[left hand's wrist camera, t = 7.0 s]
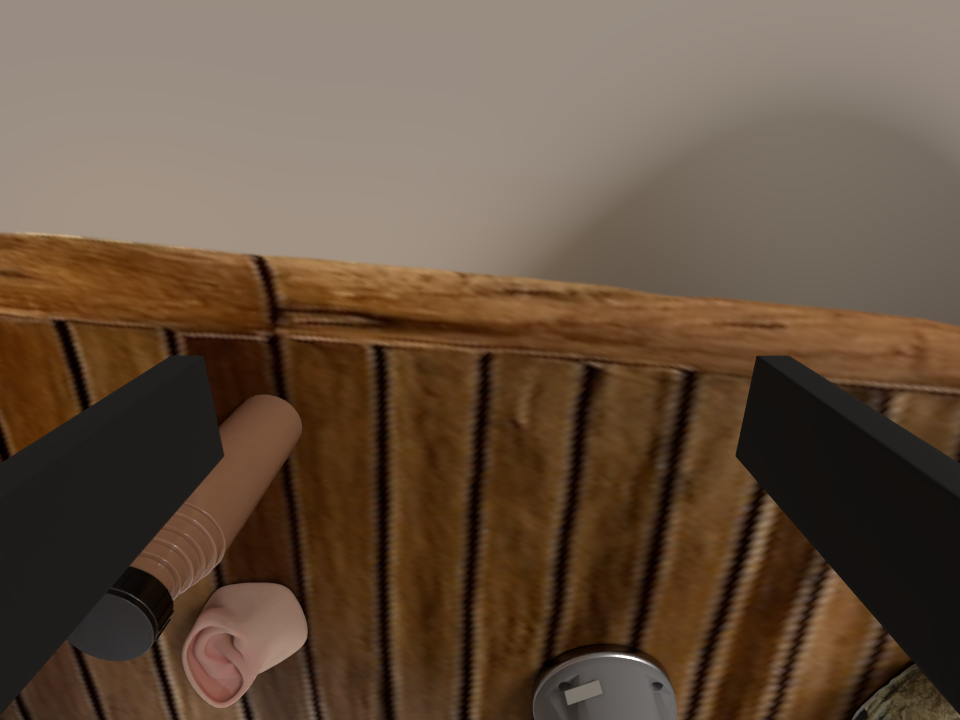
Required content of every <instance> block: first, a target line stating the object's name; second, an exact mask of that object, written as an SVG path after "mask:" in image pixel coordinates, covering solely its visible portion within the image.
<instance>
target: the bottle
mask: <svg viewBox="0 0 960 720" xmlns="http://www.w3.org/2000/svg"><path fill="white" fill-rule="evenodd" d="M219 432H220V437H221V442H222V446H223V451H224V457H223V458H222V460H221V461H220V462H219V463H218V464H217V465H216V467H215V468H214V469H213V470H212V471H211V472H210V473H209V475H208V476H207V477H206V478H205V479H204V480H203V482H202V483H201V484H200V485H199V486H198V487H197V488H196V490H195V491H194V492H193V493H192V494H191V495H190V497H189V498H188V499H187V500H186V501H185V502H184V504H183V505H182V506H181V507H180V508H179V509H178V510H177V512H176V513H175V514H174V515H173V516H172V517H171V519H170V520H169V521H168V522H167V523H166V524H165V525H164V527H163V528H162V529H161V530H160V531H159V532H158V534H157V535H156V536H155V537H154V538H153V539H152V541H151V542H150V543H149V544H148V545H147V546H146V547H145V549H144V550H143V551H142V552H141V553H140V554H139V556H138V557H137V558H136V559H135V560H134V561H133V562H132V564H131V565H130V566H132V567H135V568H138V569H141V570H143V571H146V572H148V573H150V574H151V575H153V576H155V577H156V578H157V579H158V580H160V581H161V582H162V583H163V584H164V585H165V586H166V588H167V589H168V590H169V592H170V594H171V597H172V600H174V599H175V598H176V597H177V596H178V595H179V594H181V593H183V592H184V591H186V590H187V589H188V588H189V587H191V586H193V585H194V584H196V583H197V582H198V581H199V580H200V579H202V578H203V577H205V576H206V575H208V574H209V573H210V572H211V571H212V569H213V568H214V567H215V566H216V565H218V564H219V562H220V561H221V560H222V558H223V557H224V555H225V554H226V552H227V550H228V549H229V547H230V546H231V544H232V543H233V541H234V540H235V538H236V537H237V535H238V534H239V532H240V530H241V529H242V527H243V526H244V524H245V523H246V521H247V520H248V518H249V517H250V515H251V513H252V512H253V510H254V509H255V507H256V506H257V504H258V503H259V501H260V500H261V498H262V496H263V495H264V493H265V492H266V490H267V489H268V487H269V486H270V484H271V483H272V481H273V479H274V478H275V476H276V475H277V473H278V472H279V470H280V469H281V467H282V466H283V464H284V463H285V461H286V459H287V458H288V456H289V455H290V453H291V452H292V450H293V449H294V447H295V446H296V444H297V442H298V441H299V439H300V437H301V434H302V423H301V419H300V416H299V415H298V413H297V411H296V410H295V409H294V408H293V407H292V406H291V405H290V404H289V403H288V402H286V401H285V400H283V399H281V398H279V397H276V396H272V395H256V396H252V397H250V398H248V399H246V400H245V401H244V402H243V403H242V404H241V405H240V406H239V407H238V408H237V409H236V410H235V411H234V412H233V413H232V414H231V415H230V416H229V417H228V418H227V419H226V420H225V421H224V422H223V423H222V424H221V425H220V426H219Z"/></svg>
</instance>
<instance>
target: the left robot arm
mask: <svg viewBox="0 0 960 720" xmlns="http://www.w3.org/2000/svg"><path fill="white" fill-rule="evenodd" d="M223 457H224V451H223V446H222V442H221V437H220V432H219V427H218V423H217V418H216V413H215V409H214V404H213V399H212V394H211V390H210V385H209V380H208V375H207V371H206V366H205V361H204V356H170V357H168V358H167V359H165V360H164V361H162V362H160V363H159V364H157V365H156V366H154V367H152V368H151V369H149V370H148V371H146V372H145V373H143V374H141V375H140V376H138V377H137V378H135V379H133V380H132V381H130V382H129V383H127V384H126V385H124V386H122V387H121V388H119V389H118V390H116V391H114V392H113V393H111V394H110V395H108V396H107V397H105V398H103V399H102V400H100V401H99V402H97V403H95V404H94V405H92V406H91V407H89V408H88V409H86V410H84V411H83V412H81V413H80V414H78V415H76V416H75V417H73V418H72V419H70V420H69V421H67V422H65V423H64V424H62V425H61V426H59V427H57V428H56V429H54V430H53V431H51V432H50V433H48V434H46V435H45V436H43V437H42V438H40V439H38V440H37V441H35V442H34V443H32V444H31V445H29V446H27V447H26V448H24V449H23V450H21V451H19V452H18V453H16V454H15V455H13V456H12V457H10V458H8V459H7V460H5V461H4V462H2V463H0V715H1V714H2V713H3V712H4V710H5V709H6V708H7V707H8V706H9V705H10V704H11V702H12V701H13V700H14V699H15V698H16V697H17V695H18V694H19V693H20V692H21V691H22V690H23V688H24V687H25V686H26V685H27V684H28V683H29V682H30V680H31V679H32V678H33V677H34V676H35V675H36V673H37V672H38V671H39V670H40V669H41V668H42V667H43V665H44V664H45V663H46V662H47V661H48V660H49V658H50V657H51V656H52V655H53V654H54V653H55V651H56V650H57V649H58V648H59V647H60V646H61V645H62V643H63V642H64V641H65V640H66V639H67V638H68V636H69V635H70V634H71V633H72V632H73V631H74V630H75V628H76V627H77V626H78V625H79V624H80V623H81V621H82V620H83V619H84V618H85V617H86V616H87V614H88V613H89V612H90V611H91V610H92V609H93V608H94V606H95V605H96V604H97V603H98V602H99V601H100V599H101V598H102V597H103V596H104V595H105V594H106V593H107V591H108V590H109V589H110V588H111V587H112V586H113V584H114V583H115V582H116V581H117V580H118V579H119V577H120V576H121V575H122V574H123V573H124V572H125V571H126V569H127V568H128V567H129V566H130V565H131V564H132V562H133V561H134V560H135V559H136V558H137V557H138V556H139V554H140V553H141V552H142V551H143V550H144V549H145V547H146V546H147V545H148V544H149V543H150V542H151V541H152V539H153V538H154V537H155V536H156V535H157V534H158V532H159V531H160V530H161V529H162V528H163V527H164V525H165V524H166V523H167V522H168V521H169V520H170V519H171V517H172V516H173V515H174V514H175V513H176V512H177V510H178V509H179V508H180V507H181V506H182V505H183V504H184V502H185V501H186V500H187V499H188V498H189V497H190V495H191V494H192V493H193V492H194V491H195V490H196V488H197V487H198V486H199V485H200V484H201V483H202V482H203V480H204V479H205V478H206V477H207V476H208V475H209V473H210V472H211V471H212V470H213V469H214V468H215V467H216V465H217V464H218V463H219V462H220V461H221V460H222V458H223ZM736 457H737V458H738V460H739V461H740V462H741V463H742V464H743V465H744V467H745V468H746V469H747V470H748V471H749V472H750V473H751V475H752V476H753V477H754V478H755V479H756V480H757V482H758V483H759V484H760V485H761V486H762V487H763V488H764V490H765V491H766V492H767V493H768V494H769V495H770V497H771V498H772V499H773V500H774V501H775V502H776V504H777V505H778V506H779V507H780V508H781V509H782V510H783V512H784V513H785V514H786V515H787V516H788V517H789V519H790V520H791V521H792V522H793V523H794V524H795V525H796V527H797V528H798V529H799V530H800V531H801V532H802V534H803V535H804V536H805V537H806V538H807V539H808V541H809V542H810V543H811V544H812V545H813V546H814V547H815V549H816V550H817V551H818V552H819V553H820V554H821V556H822V557H823V558H824V559H825V560H826V561H827V562H828V564H829V565H830V566H831V567H832V568H833V569H834V571H835V572H836V573H837V574H838V575H839V576H840V577H841V579H842V580H843V581H844V582H845V583H846V584H847V586H848V587H849V588H850V589H851V590H852V591H853V593H854V594H855V595H856V596H857V597H858V598H859V599H860V601H861V602H862V603H863V604H864V605H865V606H866V608H867V609H868V610H869V611H870V612H871V613H872V614H873V616H874V617H875V618H876V619H877V620H878V621H879V623H880V624H881V625H882V626H883V627H884V628H885V630H886V631H887V632H888V633H889V634H890V635H891V636H892V638H893V639H894V640H895V641H896V642H897V643H898V645H899V646H900V647H901V648H902V649H903V650H904V651H905V653H906V654H907V655H908V656H909V657H910V658H911V660H912V661H913V662H914V663H915V664H916V665H917V667H918V668H919V669H920V670H921V671H922V672H923V673H924V675H925V676H926V677H927V678H928V679H929V680H930V682H931V683H932V684H933V685H934V686H935V687H936V688H937V690H938V691H939V692H940V693H941V694H942V695H943V697H944V698H945V699H946V700H947V701H948V702H949V704H950V705H951V706H952V707H953V708H954V709H955V710H956V712H957V713H958V714H959V715H960V463H958V462H956V461H955V460H953V459H952V458H950V457H948V456H947V455H945V454H944V453H942V452H941V451H939V450H937V449H936V448H934V447H933V446H931V445H929V444H928V443H926V442H925V441H923V440H922V439H920V438H918V437H917V436H915V435H914V434H912V433H910V432H909V431H907V430H906V429H904V428H903V427H901V426H899V425H898V424H896V423H895V422H893V421H891V420H890V419H888V418H887V417H885V416H884V415H882V414H880V413H879V412H877V411H876V410H874V409H872V408H871V407H869V406H868V405H866V404H865V403H863V402H861V401H860V400H858V399H857V398H855V397H853V396H852V395H850V394H849V393H847V392H846V391H844V390H842V389H841V388H839V387H838V386H836V385H834V384H833V383H831V382H830V381H828V380H827V379H825V378H823V377H822V376H820V375H819V374H817V373H815V372H814V371H812V370H811V369H809V368H808V367H806V366H804V365H803V364H801V363H800V362H798V361H796V360H795V359H793V358H792V357H790V356H756V361H755V366H754V371H753V375H752V380H751V385H750V390H749V394H748V399H747V404H746V408H745V413H744V418H743V423H742V427H741V432H740V437H739V442H738V446H737V451H736ZM532 705H533V714H534V719H535V720H677V704H676V699H675V693H674V690H673V687H672V684H671V681H670V679H669V676H668V674H667V672H666V670H665V669H664V667H663V666H662V665H661V664H660V663H659V662H658V661H657V660H656V659H655V658H653V657H652V656H650V655H649V654H647V653H645V652H643V651H641V650H638V649H635V648H631V647H628V646H622V645H612V644H603V645H592V646H587V647H582V648H579V649H576V650H573V651H570V652H568V653H566V654H564V655H562V656H560V657H558V658H557V659H555V660H554V661H552V662H551V663H550V664H548V665H547V666H546V667H545V668H544V669H543V670H542V672H541V673H540V674H539V676H538V677H537V679H536V681H535V683H534V686H533V690H532Z"/></svg>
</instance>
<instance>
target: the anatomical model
mask: <svg viewBox="0 0 960 720" xmlns="http://www.w3.org/2000/svg"><path fill="white" fill-rule="evenodd" d="M307 634H308V629H307V622H306V619H305V616H304V613H303V611H302V608H301V606H300V604H299V602H298V600H297V599H296V597H295V596H294V594H293V593H292V592H291V591H290V590H289V589H288V588H286V587H285V586H283V585H280V584H275V583H239V584H232V585H227V586H223V587H221V588H219V589H218V590H216V591H215V592H214V594H213V595H212V596H211V597H210V599H209V600H208V602H207V603H206V605H205V606H204V608H203V610H202V612H201V614H200V615H199V617H198V618H197V620H196V622H195V624H194V626H193V627H192V629H191V631H190V632H189V634H188V636H187V638H186V640H185V642H184V645H183V649H182V663H183V667H184V670H185V673H186V676H187V678H188V680H189V682H190V683H191V685H192V686H193V688H194V689H195V690H196V692H197V693H198V694H199V695H200V696H201V697H202V698H203V699H204V700H205V701H207V702H208V703H209V704H211V705H212V706H215V707H218V708H223V707H227V706H229V705H231V704H233V703H234V702H236V701H237V700H238V699H239V698H240V697H241V696H242V695H243V694H244V693H245V692H246V691H247V690H248V688H249V687H250V686H251V684H252V683H253V681H254V680H255V678H256V676H257V674H259V673H261V672H263V671H265V670H267V669H269V668H271V667H273V666H274V665H276V664H278V663H280V662H281V661H283V660H284V659H286V658H288V657H289V656H291V655H292V654H293V653H295V652H296V651H297V650H298V649H300V648H301V647H302V645H303V644H304V643H305V641H306V639H307Z"/></svg>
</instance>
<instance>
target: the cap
mask: <svg viewBox="0 0 960 720" xmlns="http://www.w3.org/2000/svg"><path fill="white" fill-rule="evenodd" d="M173 612H174V610H173V600H172V597H171V594H170V592H169V590H168V589H167V588H166V586H165V585H164V584H163V583H162V582H161V581H160V580H158V579H157V578H156V577H155V576H153V575H151V574H150V573H148V572H146V571H143V570H141V569H138V568H135V567H132V566H129V567H128V568H127V569H126V571H125V572H124V573H123V574H122V575H121V576H120V577H119V579H118V580H117V581H116V582H115V583H114V584H113V586H112V587H111V588H110V589H109V590H108V591H107V593H106V594H105V595H104V596H103V597H102V598H101V599H100V601H99V602H98V603H97V604H96V605H95V606H94V608H93V609H92V610H91V611H90V612H89V613H88V614H87V616H86V617H85V618H84V619H83V620H82V621H81V623H80V624H79V625H78V626H77V627H76V628H75V630H74V631H73V632H72V633H71V634H70V635H69V636H68V638H67V640H68V641H69V642H70V643H71V644H73V645H74V646H75V647H76V648H78V649H79V650H81V651H83V652H84V653H86V654H89V655H91V656H94V657H96V658H100V659H104V660H110V661H126V660H131V659H135V658H137V657H139V656H141V655H143V654H144V653H146V652H147V651H148V650H149V649H150V647H151V646H152V644H153V643H154V641H157V639H158V638H159V636H160V635H161V633H162V632H163V630H164V629H165V627H166V626H167V624H168V623H169V621H170V620H171V619H170V617H171V616H172V613H173Z"/></svg>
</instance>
